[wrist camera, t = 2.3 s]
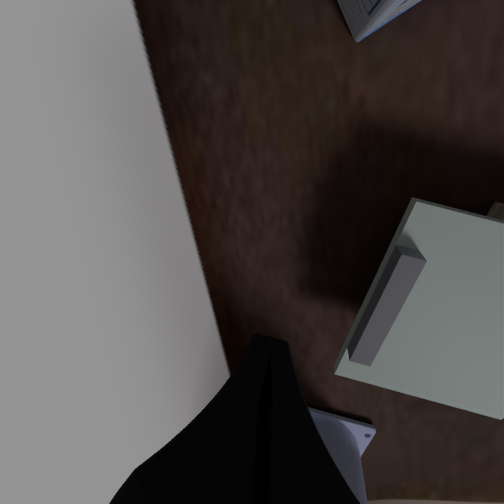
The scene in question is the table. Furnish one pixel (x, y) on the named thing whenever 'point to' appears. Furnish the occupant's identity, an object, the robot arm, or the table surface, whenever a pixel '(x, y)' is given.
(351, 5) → the medicine box
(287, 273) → the table surface
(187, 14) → the table surface
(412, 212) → the lid
